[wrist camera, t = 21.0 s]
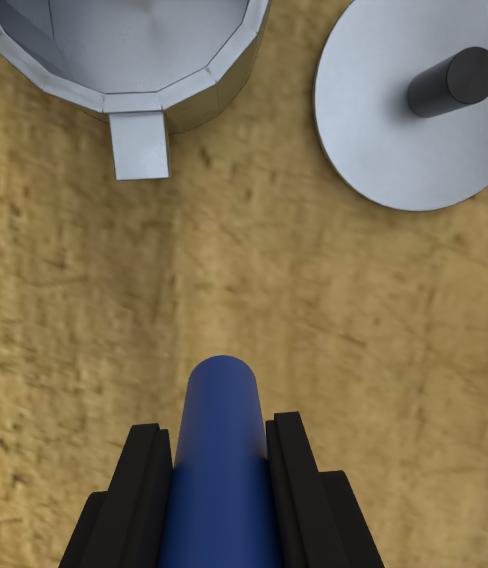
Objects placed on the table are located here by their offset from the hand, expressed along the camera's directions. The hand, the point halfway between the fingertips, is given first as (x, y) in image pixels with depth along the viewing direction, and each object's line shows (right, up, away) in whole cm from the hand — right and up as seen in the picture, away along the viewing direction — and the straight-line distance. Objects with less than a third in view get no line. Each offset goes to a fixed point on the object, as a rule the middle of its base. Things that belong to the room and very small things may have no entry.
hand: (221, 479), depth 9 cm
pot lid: (+11, +16, +16) cm, 25 cm away
